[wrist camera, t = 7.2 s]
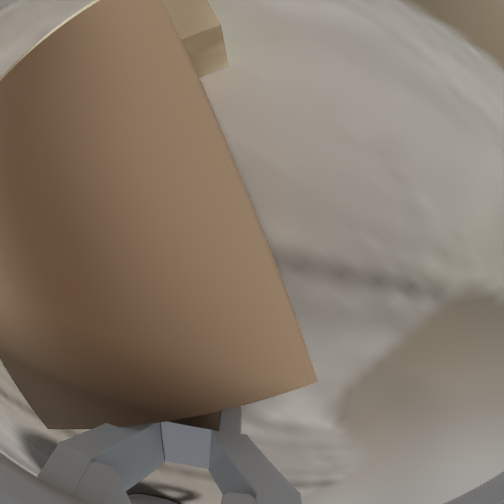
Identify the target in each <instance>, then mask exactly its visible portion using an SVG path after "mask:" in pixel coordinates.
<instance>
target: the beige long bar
mask: <svg viewBox="0 0 504 504" xmlns="http://www.w3.org/2000/svg"><path fill="white" fill-rule="evenodd" d="M98 1H100V0H95V1H93V2H91V3H90V4H88V5H87V6H85V7H84V8H82V9H81V10H79V11H78V12H76V13H75V14H73V15H72V16H70V17H69V18H68V19H66V20H65V21H63V22H62V23H61V24H59V25H58V26H57V27H55V28H54V29H53V30H52V31H50V32H49V33H48V34H47V35H45V36H44V37H43V38H42V39H41V40H39V41H38V42H37V43H36V44H35V45H34V46H33V47H31V48H30V49H29V50H28V51H27V52H26V53H25V54H24V55H23V56H22V57H21V58H20V59H18V60H17V61H16V62H15V63H14V64H13V65H12V66H11V67H10V68H9V69H8V71H7V72H6V73H5V74H4V75H3V76H2V77H1V78H0V81H1V80H2V79H3V78H4V77H5V75H6V74H7V73H8V72H9V71H10V70H11V69H12V68H13V67H14V66H15V65H16V64H17V63H18V62H19V61H20V60H22V59H23V58H24V57H25V56H26V55H27V54H28V53H29V52H30V51H31V50H32V49H34V48H35V47H36V46H37V45H38V44H39V43H41V42H42V41H43V40H44V39H45V38H47V37H48V36H49V35H50V34H52V33H53V32H54V31H56V30H57V29H58V28H59V27H61V26H62V25H64V24H65V23H66V22H68V21H69V20H70V19H72V18H73V17H75V16H76V15H78V14H79V13H81V12H82V11H84V10H85V9H87V8H88V7H90V6H92V5H93V4H95V3H96V2H98ZM162 2H163V4H164V6H165V8H166V10H167V12H168V14H169V16H170V18H171V20H172V22H173V24H174V26H175V28H176V30H177V32H178V34H179V36H180V38H181V41H182V43H183V45H184V47H185V49H186V51H187V53H188V55H189V57H190V59H191V62H192V64H193V66H194V68H195V70H196V72H197V74H198V76H199V77H202V76H204V75H207V74H209V73H212V72H214V71H217V70H219V69H222V68H225V67H227V66H228V61H227V55H226V50H225V44H224V39H223V33H222V28H221V24H220V22H219V20H218V19H217V17H216V15H215V13H214V12H213V10H212V8H211V7H210V5H209V3H208V1H207V0H162Z"/></svg>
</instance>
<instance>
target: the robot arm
mask: <svg viewBox="0 0 504 504" xmlns="http://www.w3.org/2000/svg"><path fill="white" fill-rule="evenodd" d="M241 424H242V406H238V407H234V408H230V409H226V410H222V411H218V412H213V413H209V414H204V415H199V416H194V417H189V418H184V419H178V420H172V421H166V422H159V423H152V424H144V425H135V426H125V427H117V426H114V425H111V424H108V423H105V424H102V425H100V426H98V427H96V428H93V429H91V430H89V431H86V432H84V433H82V434H79V435H77V436H74V437H72V438H70V439H67V440H65V441H62V442H59V444H58V445H57V447H56V448H55V450H54V451H53V453H52V454H51V456H50V457H49V459H48V460H47V462H46V463H45V465H44V467H43V468H42V470H41V471H40V473H39V474H38V476H37V477H36V476H34V475H33V474H31V473H29V472H28V471H26V470H25V469H23V468H22V467H20V466H19V465H17V464H16V463H14V462H13V461H11V460H10V459H9V458H7V457H6V456H4V455H3V454H2V453H0V504H132V503H131V501H130V499H129V497H128V495H127V493H126V491H127V490H129V489H130V488H131V487H133V486H134V485H136V484H137V483H138V482H140V481H141V480H142V479H144V478H145V477H146V476H148V475H149V474H150V473H152V472H153V471H154V470H155V469H157V468H158V467H159V466H160V465H162V464H163V463H164V462H165V461H169V462H174V463H180V464H186V465H191V466H196V467H201V468H207V469H209V471H210V473H211V475H212V477H213V479H214V480H215V482H216V484H217V485H218V487H219V489H220V491H221V492H222V494H223V496H222V501H221V504H302V503H301V496H300V493H299V492H298V491H297V490H296V489H295V488H294V487H293V486H292V485H291V484H290V483H289V482H288V481H287V480H286V479H285V477H284V476H283V475H282V474H281V473H280V472H279V471H278V470H277V469H276V468H275V467H274V466H273V465H272V463H271V462H270V461H269V460H268V459H267V458H266V457H265V456H264V454H263V453H262V452H261V451H260V450H259V449H258V447H257V446H256V445H255V444H254V443H253V442H252V440H251V439H250V438H249V437H248V436H247V435H245V434H241ZM444 504H504V472H501V473H500V474H498V475H497V476H495V477H494V478H492V479H491V480H489V481H487V482H485V483H483V484H482V485H480V486H478V487H476V488H475V489H473V490H471V491H469V492H467V493H465V494H463V495H461V496H459V497H457V498H455V499H453V500H451V501H449V502H446V503H444Z"/></svg>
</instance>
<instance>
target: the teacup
mask: <svg viewBox="0 0 504 504" xmlns="http://www.w3.org/2000/svg"><path fill="white" fill-rule="evenodd" d="M128 497H129V499H130V501H131V503H132V504H178V503H175V502H172V501H170V500H167V499H163V498H160V497H155V496H150V495H145V494H132V495H129V496H128Z"/></svg>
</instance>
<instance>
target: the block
mask: <svg viewBox="0 0 504 504" xmlns="http://www.w3.org/2000/svg"><path fill="white" fill-rule="evenodd" d="M0 359H1V361H2V362H3V364H4V366H5V368H6V369H7V371H8V373H9V374H10V376H11V378H12V379H13V381H14V382H15V384H16V386H17V387H18V389H19V390H20V392H21V393H22V395H23V396H24V398H25V399H26V400H27V402H28V403H29V405H30V406H31V407H32V409H33V410H34V412H35V413H36V414H37V416H38V417H39V418H40V419H41V421H42V422H43V423H44V425H45V426H46V427H47V428H48V429H93V428H96V427H98V426H100V425H102V424H105V423H108V424H111V425H114V426H117V427H125V426H135V425H144V424H152V423H159V422H166V421H172V420H178V419H184V418H189V417H194V416H199V415H204V414H209V413H213V412H218V411H222V410H226V409H230V408H234V407H238V406H242V405H246V404H249V403H253V402H257V401H260V400H263V399H267V398H270V397H273V396H277V395H280V394H283V393H286V392H289V391H292V390H295V389H298V388H301V387H303V386H306V385H309V384H312V383H314V382H317V378H316V375H315V372H314V369H313V366H312V363H311V360H310V357H309V354H308V351H307V348H306V345H305V342H304V339H303V336H302V334H301V331H300V328H299V325H298V322H297V319H296V316H295V313H294V310H293V308H292V305H291V302H290V299H289V296H288V293H287V290H286V288H285V285H284V282H283V279H282V277H281V274H280V272H279V269H278V267H277V264H276V262H275V259H274V256H273V254H272V251H271V249H270V246H269V244H268V241H267V239H266V236H265V234H264V231H263V229H262V226H261V224H260V221H259V219H258V216H257V214H256V212H255V209H254V207H253V204H252V202H251V199H250V197H249V194H248V192H247V189H246V187H245V185H244V182H243V180H242V177H241V175H240V172H239V170H238V168H237V165H236V163H235V160H234V158H233V156H232V153H231V151H230V149H229V146H228V144H227V141H226V139H225V137H224V134H223V132H222V130H221V127H220V125H219V122H218V120H217V118H216V115H215V113H214V111H213V108H212V106H211V104H210V101H209V99H208V97H207V95H206V92H205V90H204V88H203V85H202V83H201V81H200V79H199V76H198V74H197V72H196V70H195V68H194V66H193V64H192V62H191V59H190V57H189V55H188V53H187V51H186V49H185V47H184V45H183V43H182V41H181V38H180V36H179V34H178V32H177V30H176V28H175V26H174V24H173V22H172V20H171V18H170V16H169V14H168V12H167V10H166V8H165V6H164V4H163V2H162V0H100V1H98V2H96V3H95V4H93V5H92V6H90V7H88V8H87V9H85V10H84V11H82V12H81V13H79V14H78V15H76V16H75V17H73V18H72V19H70V20H69V21H68V22H66V23H65V24H64V25H62V26H61V27H59V28H58V29H57V30H56V31H54V32H53V33H52V34H50V35H49V36H48V37H47V38H45V39H44V40H43V41H42V42H41V43H39V44H38V45H37V46H36V47H35V48H34V49H32V50H31V51H30V52H29V53H28V54H27V55H26V56H25V57H24V58H23V59H22V60H20V61H19V62H18V63H17V64H16V65H15V66H14V67H13V68H12V69H11V70H10V71H9V72H8V73H7V74H6V75H5V77H4V78H3V79H2V80H1V81H0Z"/></svg>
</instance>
